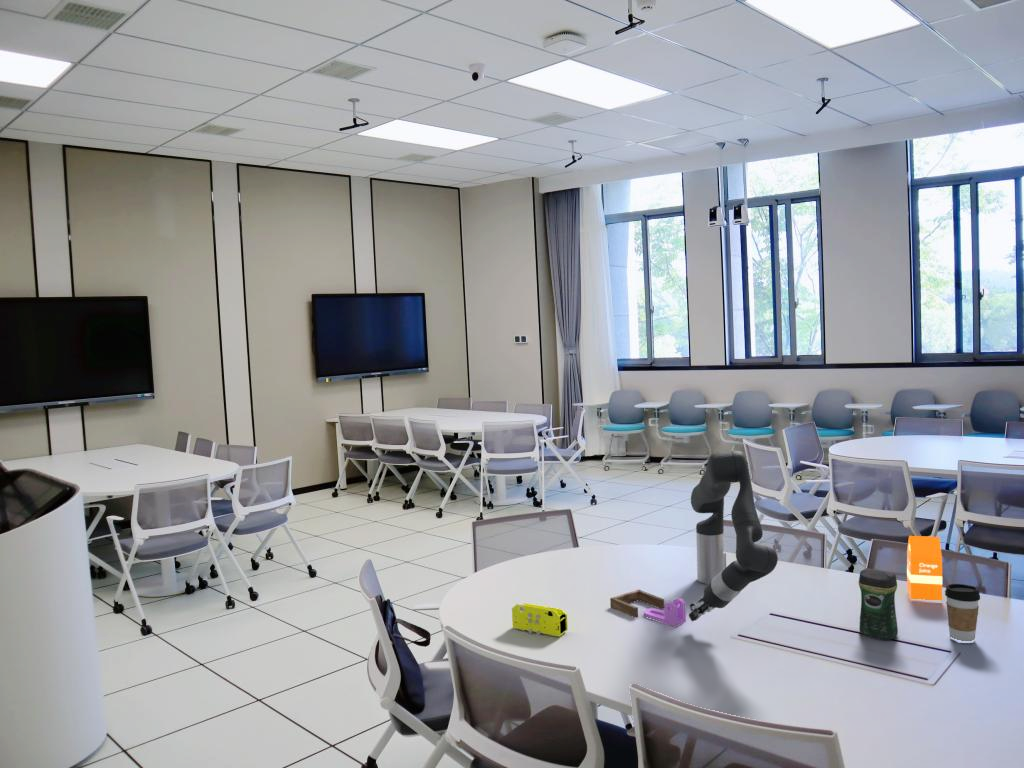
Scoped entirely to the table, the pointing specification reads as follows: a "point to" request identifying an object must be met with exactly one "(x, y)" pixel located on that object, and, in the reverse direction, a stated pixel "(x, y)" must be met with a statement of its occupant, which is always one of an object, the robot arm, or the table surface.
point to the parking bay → (623, 601)
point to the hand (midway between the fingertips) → (691, 617)
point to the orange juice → (924, 568)
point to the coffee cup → (962, 610)
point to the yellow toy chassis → (539, 619)
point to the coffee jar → (878, 604)
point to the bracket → (669, 613)
